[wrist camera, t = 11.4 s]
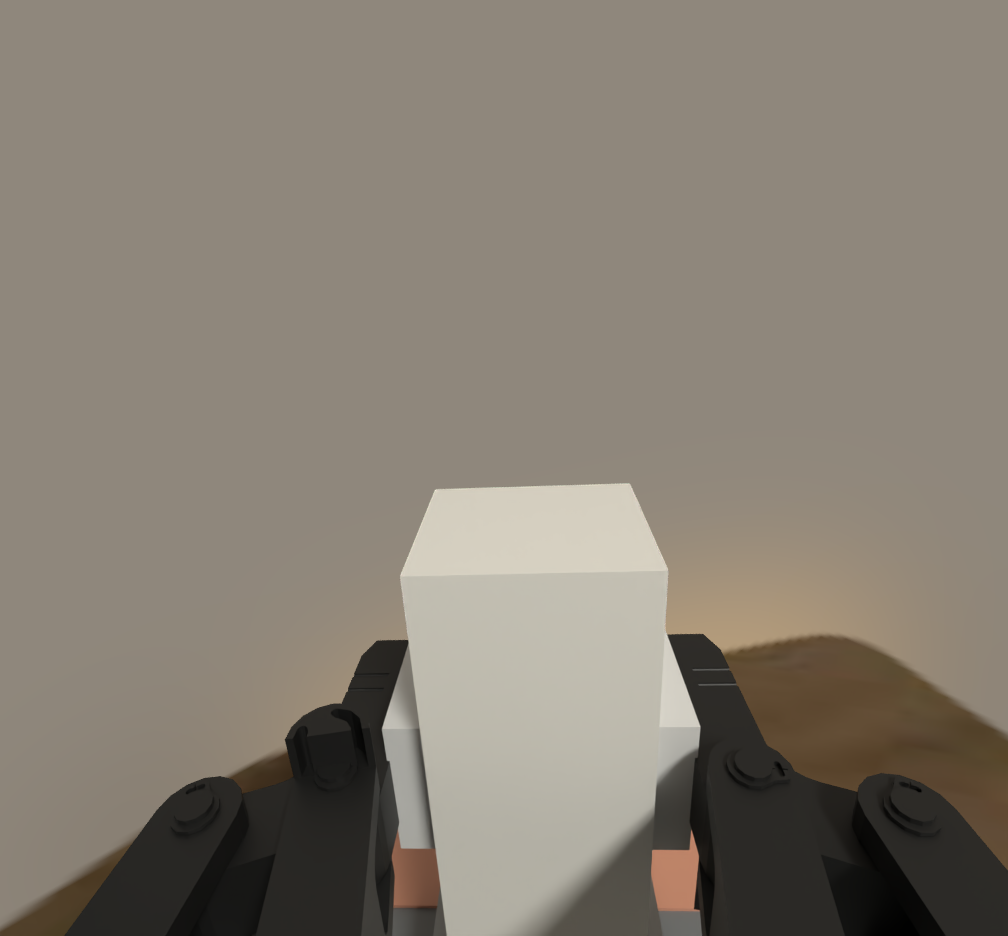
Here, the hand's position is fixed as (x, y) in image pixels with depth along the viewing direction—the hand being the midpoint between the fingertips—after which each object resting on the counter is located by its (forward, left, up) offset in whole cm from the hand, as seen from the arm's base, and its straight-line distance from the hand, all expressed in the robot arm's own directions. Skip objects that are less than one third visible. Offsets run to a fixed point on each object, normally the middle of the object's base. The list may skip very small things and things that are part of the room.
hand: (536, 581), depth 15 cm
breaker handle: (0, -5, -7) cm, 9 cm away
